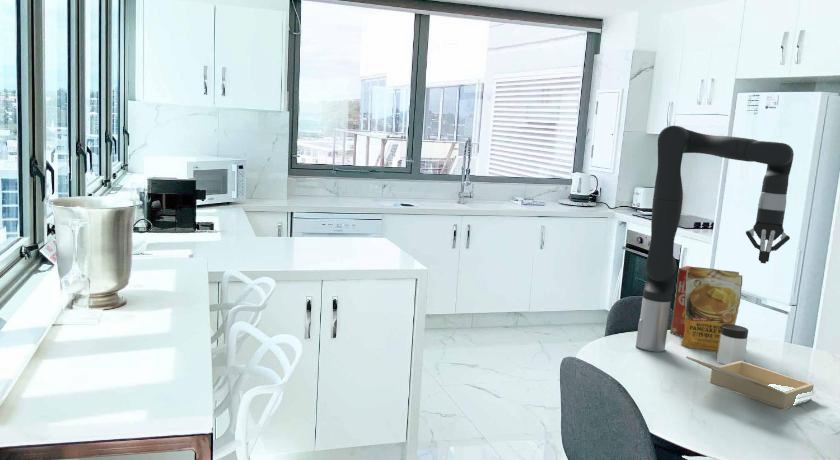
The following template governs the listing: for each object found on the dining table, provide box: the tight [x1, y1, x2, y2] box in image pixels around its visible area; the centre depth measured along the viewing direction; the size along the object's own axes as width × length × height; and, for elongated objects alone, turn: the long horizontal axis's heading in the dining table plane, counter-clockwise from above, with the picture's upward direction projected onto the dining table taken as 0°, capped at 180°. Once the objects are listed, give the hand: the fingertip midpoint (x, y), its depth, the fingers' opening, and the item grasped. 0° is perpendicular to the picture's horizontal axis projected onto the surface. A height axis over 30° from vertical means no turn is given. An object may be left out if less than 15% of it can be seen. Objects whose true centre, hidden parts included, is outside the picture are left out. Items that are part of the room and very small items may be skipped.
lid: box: [685, 356, 784, 394], centre depth 194 cm, size 16×21×1 cm
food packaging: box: [669, 265, 692, 337], centre depth 257 cm, size 13×9×25 cm
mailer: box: [709, 361, 815, 410], centre depth 204 cm, size 16×22×4 cm
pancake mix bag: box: [680, 266, 743, 353], centre depth 242 cm, size 7×19×28 cm, turn 77°
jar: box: [716, 324, 749, 365], centre depth 228 cm, size 9×8×12 cm
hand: (763, 262), depth 217 cm, fingers closed
